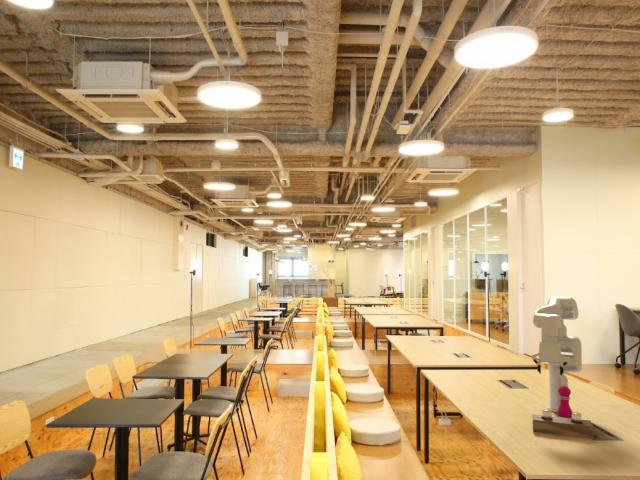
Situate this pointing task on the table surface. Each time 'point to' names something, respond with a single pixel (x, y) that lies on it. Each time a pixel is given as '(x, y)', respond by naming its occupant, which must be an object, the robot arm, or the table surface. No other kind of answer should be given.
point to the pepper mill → (564, 402)
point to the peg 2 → (576, 417)
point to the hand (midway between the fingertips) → (550, 374)
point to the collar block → (563, 427)
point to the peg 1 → (546, 414)
